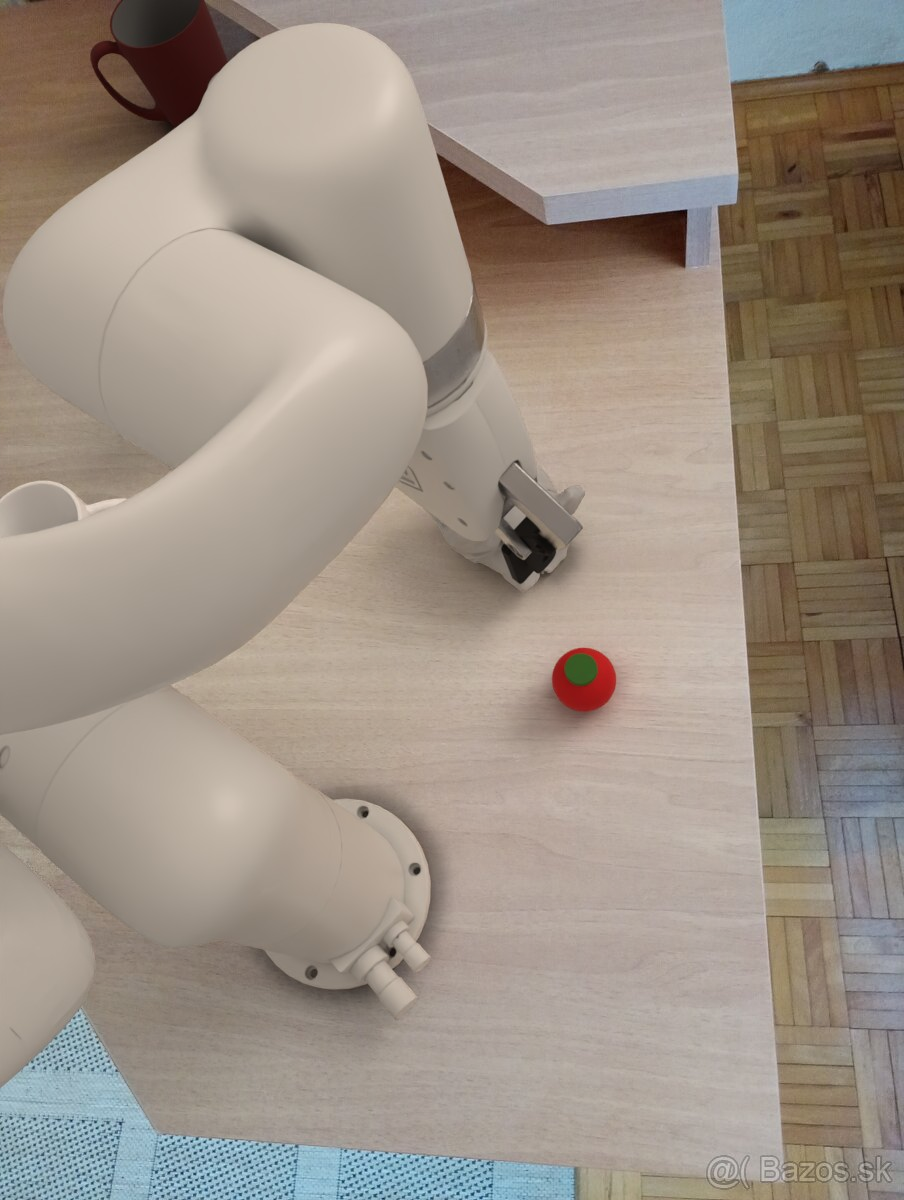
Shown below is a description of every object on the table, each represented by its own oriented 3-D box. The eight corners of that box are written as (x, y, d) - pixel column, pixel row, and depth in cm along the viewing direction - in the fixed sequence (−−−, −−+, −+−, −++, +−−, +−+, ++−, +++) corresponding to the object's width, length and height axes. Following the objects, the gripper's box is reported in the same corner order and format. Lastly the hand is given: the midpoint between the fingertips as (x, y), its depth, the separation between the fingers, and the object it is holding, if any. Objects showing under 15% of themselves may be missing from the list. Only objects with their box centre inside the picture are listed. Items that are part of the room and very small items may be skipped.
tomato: (631, 687, 75) (627, 666, 71) (587, 731, 75) (581, 713, 70) (586, 647, 77) (580, 624, 73) (543, 690, 76) (534, 670, 72)
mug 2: (148, 170, 105) (91, 78, 95) (126, 113, 108) (69, 19, 98) (259, 117, 104) (213, 19, 94) (232, 61, 108) (186, -39, 98)
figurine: (560, 530, 70) (436, 410, 73) (492, 624, 77) (381, 510, 79) (623, 494, 76) (506, 384, 79) (556, 583, 83) (450, 479, 85)
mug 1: (181, 513, 88) (110, 439, 78) (209, 598, 85) (139, 533, 74) (53, 573, 89) (-36, 507, 78) (75, 661, 85) (-14, 605, 74)
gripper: (197, 294, 47) (320, 479, 62) (484, 506, 40) (543, 654, 56) (314, 179, 48) (406, 389, 64) (613, 366, 41) (635, 550, 57)
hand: (470, 512), depth 60 cm, fingers open, 9 cm apart
